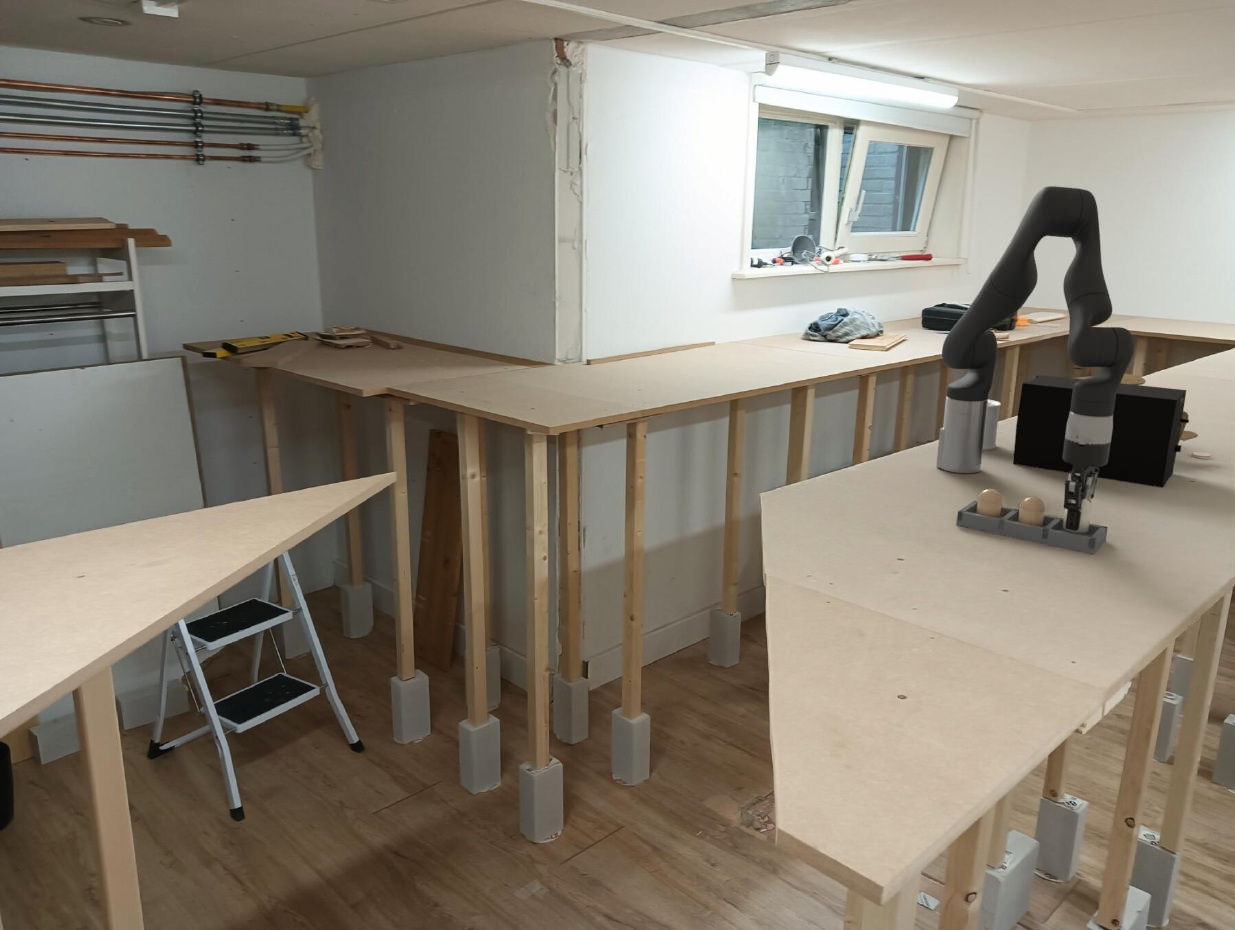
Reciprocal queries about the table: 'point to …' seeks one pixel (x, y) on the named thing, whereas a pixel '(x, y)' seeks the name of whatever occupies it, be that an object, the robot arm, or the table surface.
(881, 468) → the table surface
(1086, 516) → the cream egg
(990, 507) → the brown egg back
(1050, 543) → the egg tray
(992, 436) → the white tall cylinder
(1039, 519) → the brown egg middle
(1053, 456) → the uninterruptible power supply
